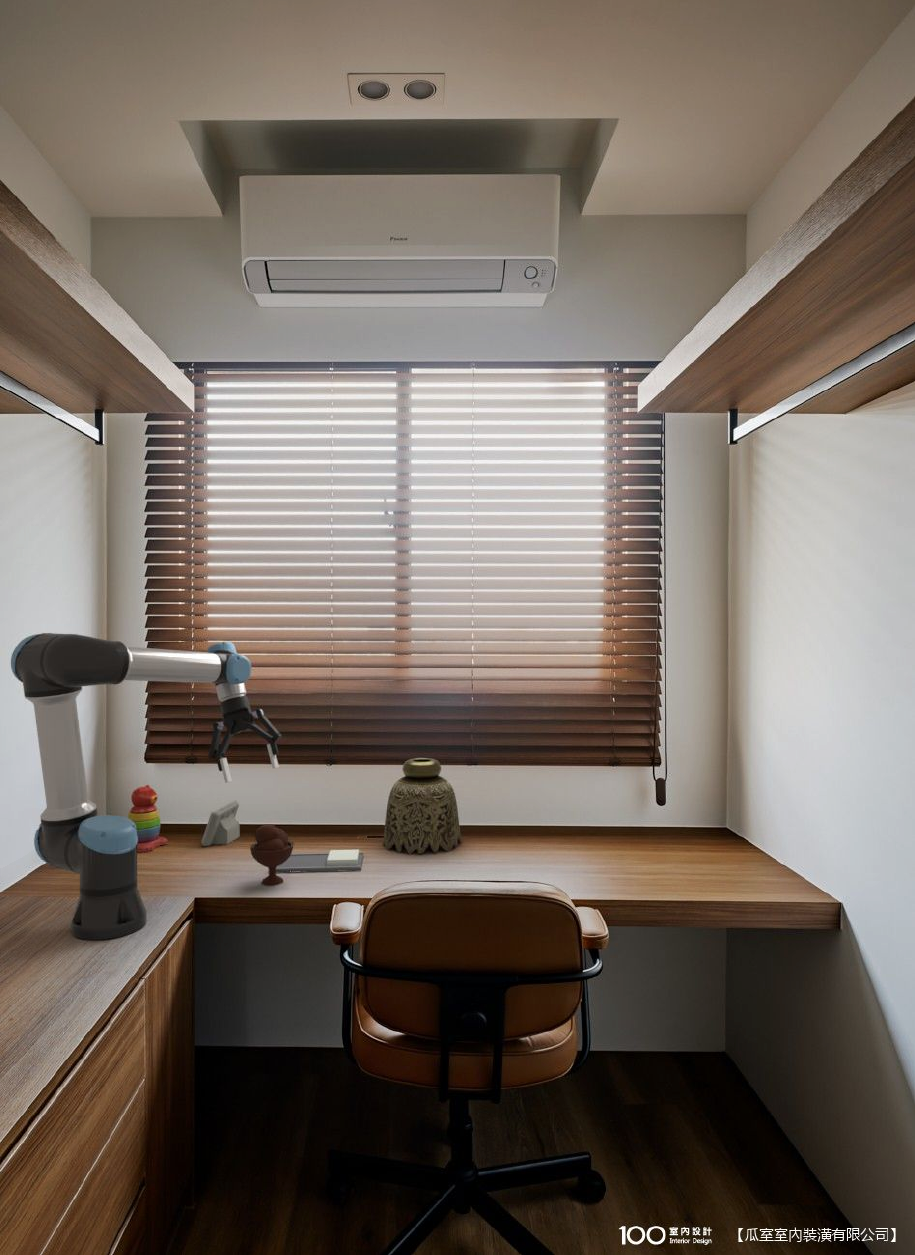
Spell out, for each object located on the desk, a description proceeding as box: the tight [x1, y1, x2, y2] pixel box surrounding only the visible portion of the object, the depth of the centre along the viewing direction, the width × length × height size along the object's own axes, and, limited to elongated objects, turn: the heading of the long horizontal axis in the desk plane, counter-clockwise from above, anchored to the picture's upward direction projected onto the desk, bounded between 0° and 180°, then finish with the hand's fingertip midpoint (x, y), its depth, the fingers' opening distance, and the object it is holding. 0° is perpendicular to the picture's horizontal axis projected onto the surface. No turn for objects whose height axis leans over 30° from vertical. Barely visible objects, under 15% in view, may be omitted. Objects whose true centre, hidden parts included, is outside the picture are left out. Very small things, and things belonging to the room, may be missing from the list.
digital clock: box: [201, 800, 241, 847], centre depth 244 cm, size 16×9×11 cm, turn 160°
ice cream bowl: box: [249, 823, 295, 887], centre depth 205 cm, size 11×11×15 cm
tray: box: [276, 851, 364, 873], centre depth 220 cm, size 24×13×1 cm, turn 94°
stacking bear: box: [127, 784, 169, 853], centre depth 238 cm, size 11×10×18 cm
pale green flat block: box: [327, 849, 360, 866], centre depth 221 cm, size 8×10×2 cm
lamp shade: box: [382, 757, 462, 855], centre depth 240 cm, size 23×23×25 cm
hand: (252, 775), depth 215 cm, fingers open, 13 cm apart
